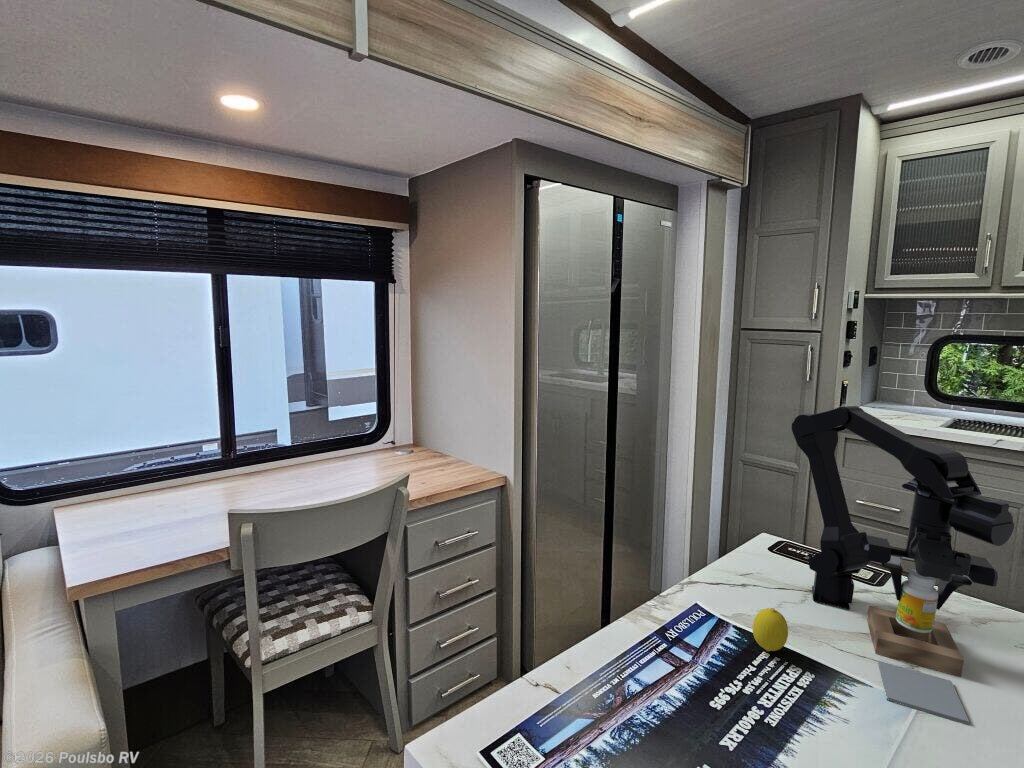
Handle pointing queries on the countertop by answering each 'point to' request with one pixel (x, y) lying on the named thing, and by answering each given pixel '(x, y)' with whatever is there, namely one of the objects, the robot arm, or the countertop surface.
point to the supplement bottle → (917, 603)
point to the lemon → (770, 629)
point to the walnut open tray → (914, 643)
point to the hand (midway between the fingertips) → (917, 603)
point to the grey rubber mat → (922, 692)
